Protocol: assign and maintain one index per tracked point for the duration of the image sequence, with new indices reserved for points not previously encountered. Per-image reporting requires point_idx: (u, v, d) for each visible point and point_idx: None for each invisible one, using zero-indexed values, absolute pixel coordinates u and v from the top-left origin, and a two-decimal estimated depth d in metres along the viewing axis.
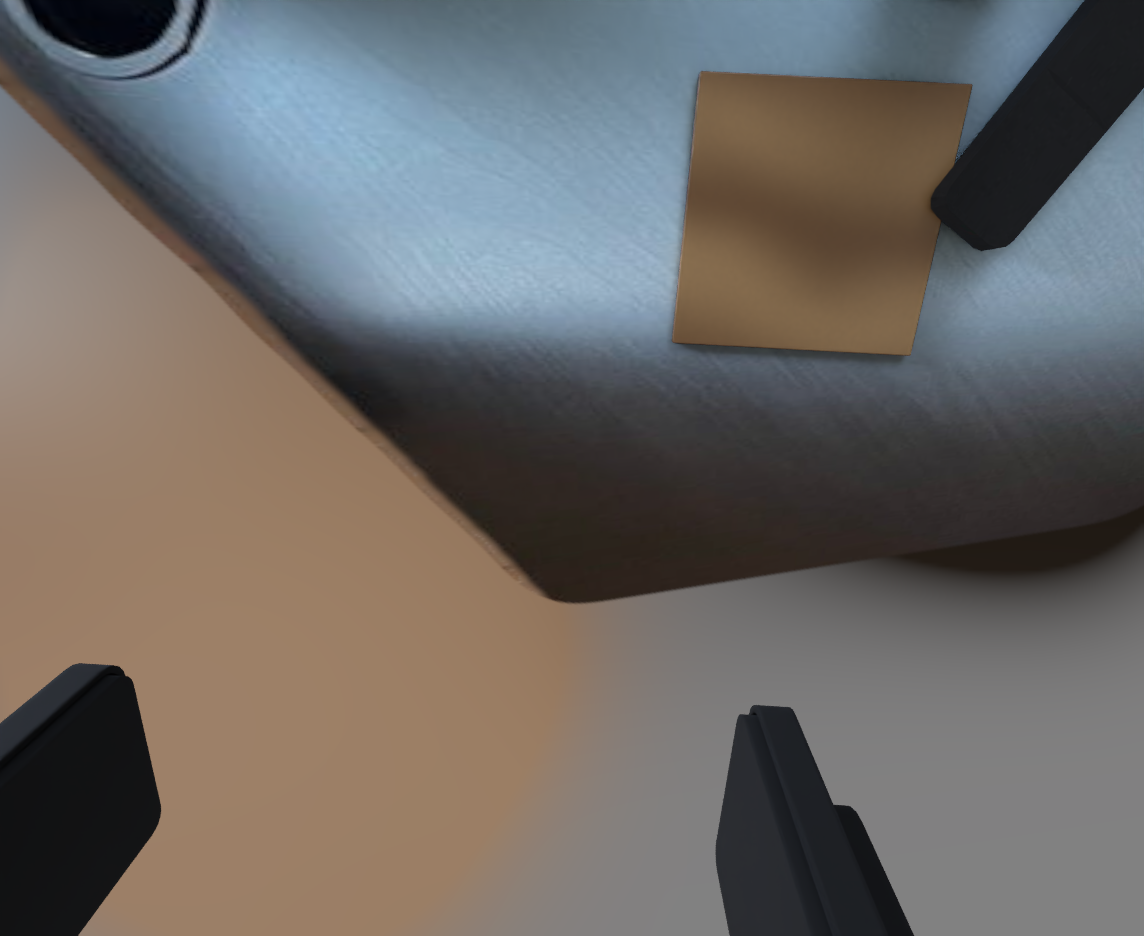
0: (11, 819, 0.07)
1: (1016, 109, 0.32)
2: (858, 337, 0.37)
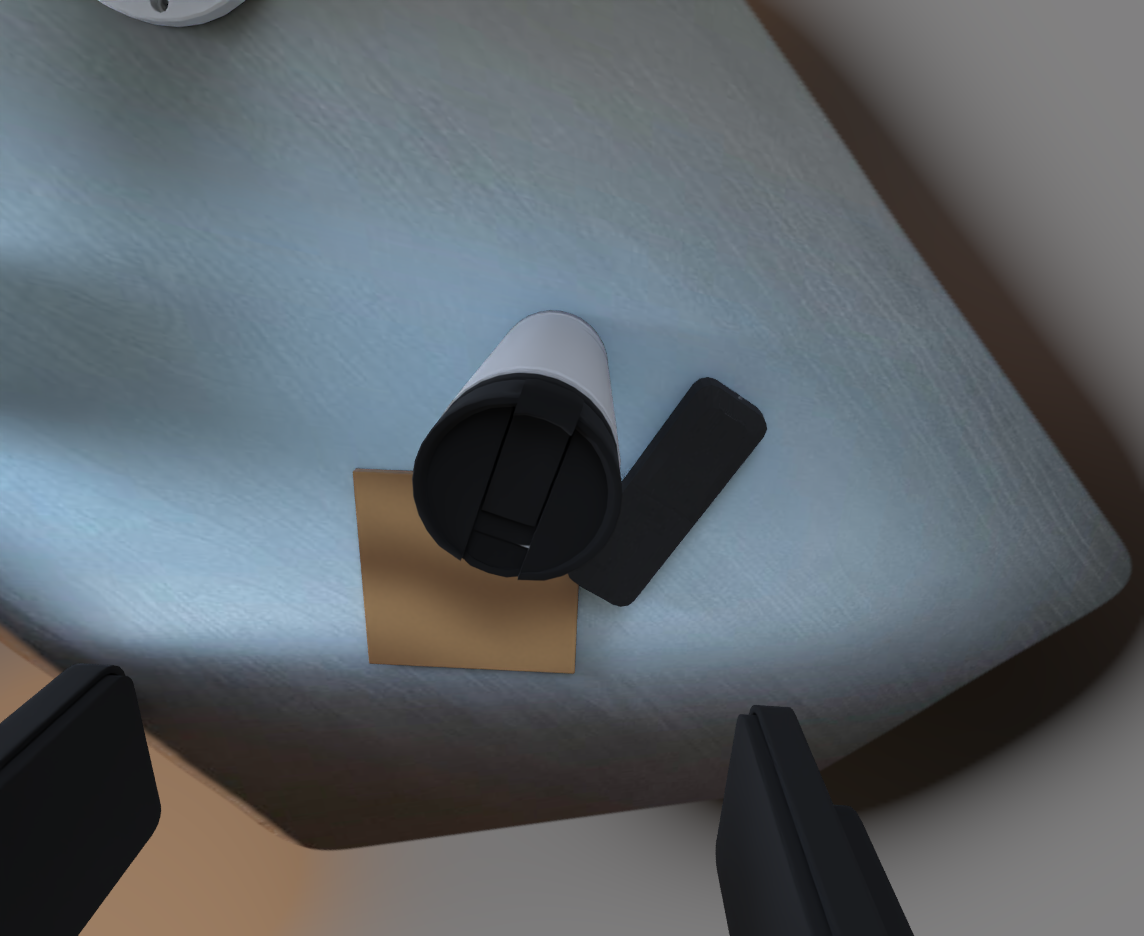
0: (11, 819, 0.07)
1: None
2: (526, 660, 0.43)
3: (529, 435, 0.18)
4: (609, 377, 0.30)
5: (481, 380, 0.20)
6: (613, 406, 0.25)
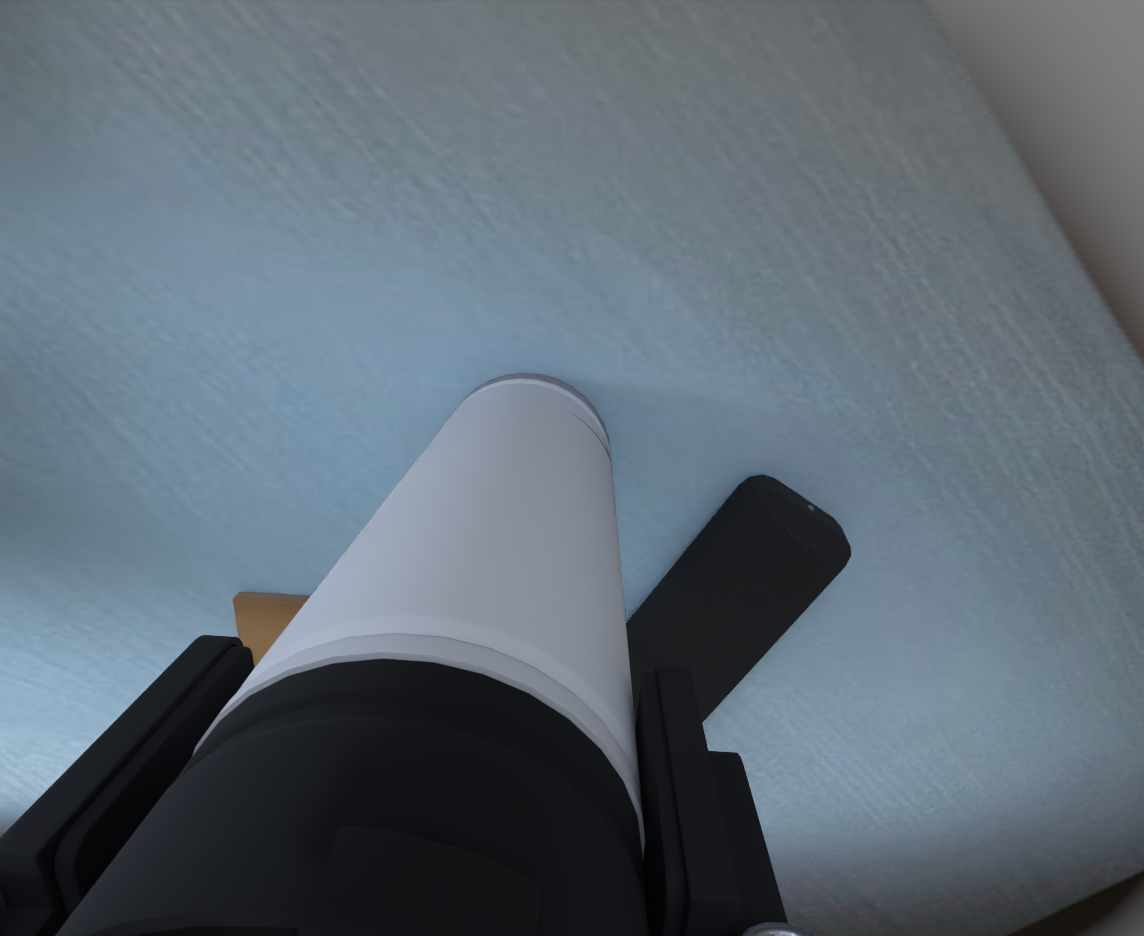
0: (170, 770, 0.08)
1: None
2: None
3: None
4: (614, 507, 0.18)
5: (288, 672, 0.08)
6: (623, 612, 0.13)
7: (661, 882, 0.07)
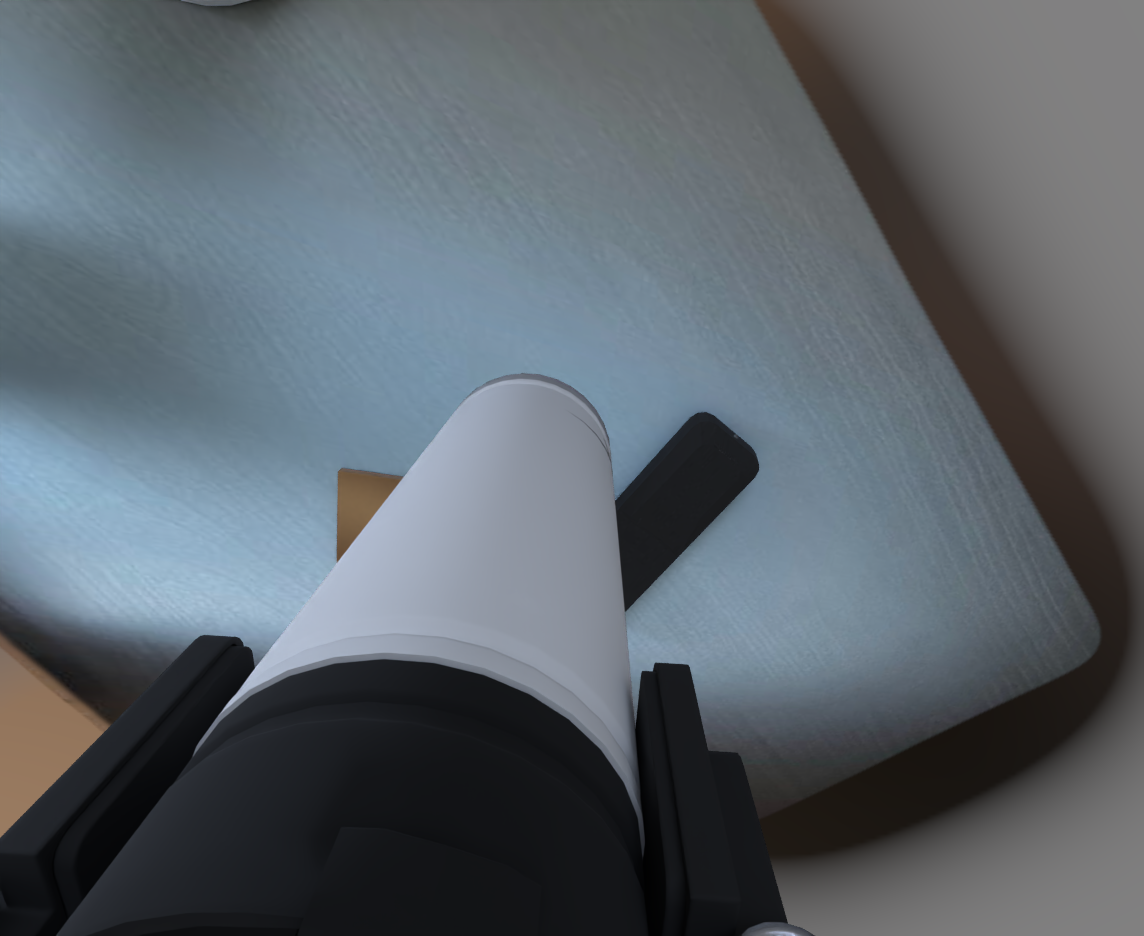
0: (170, 770, 0.08)
1: None
2: None
3: None
4: (614, 507, 0.18)
5: (289, 672, 0.08)
6: (624, 612, 0.13)
7: (661, 882, 0.07)
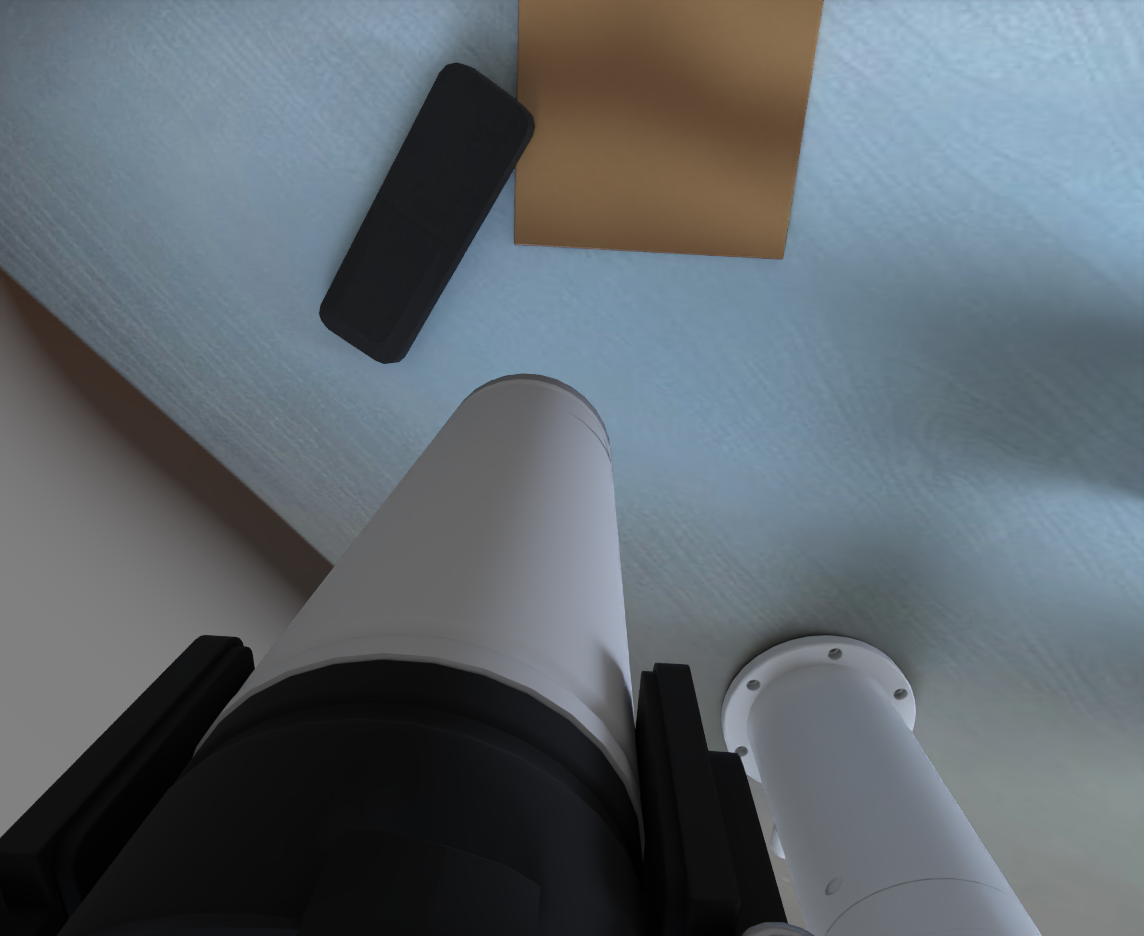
0: (170, 770, 0.08)
1: (475, 215, 0.32)
2: None
3: None
4: (614, 507, 0.18)
5: (288, 673, 0.08)
6: (624, 612, 0.13)
7: (661, 882, 0.07)
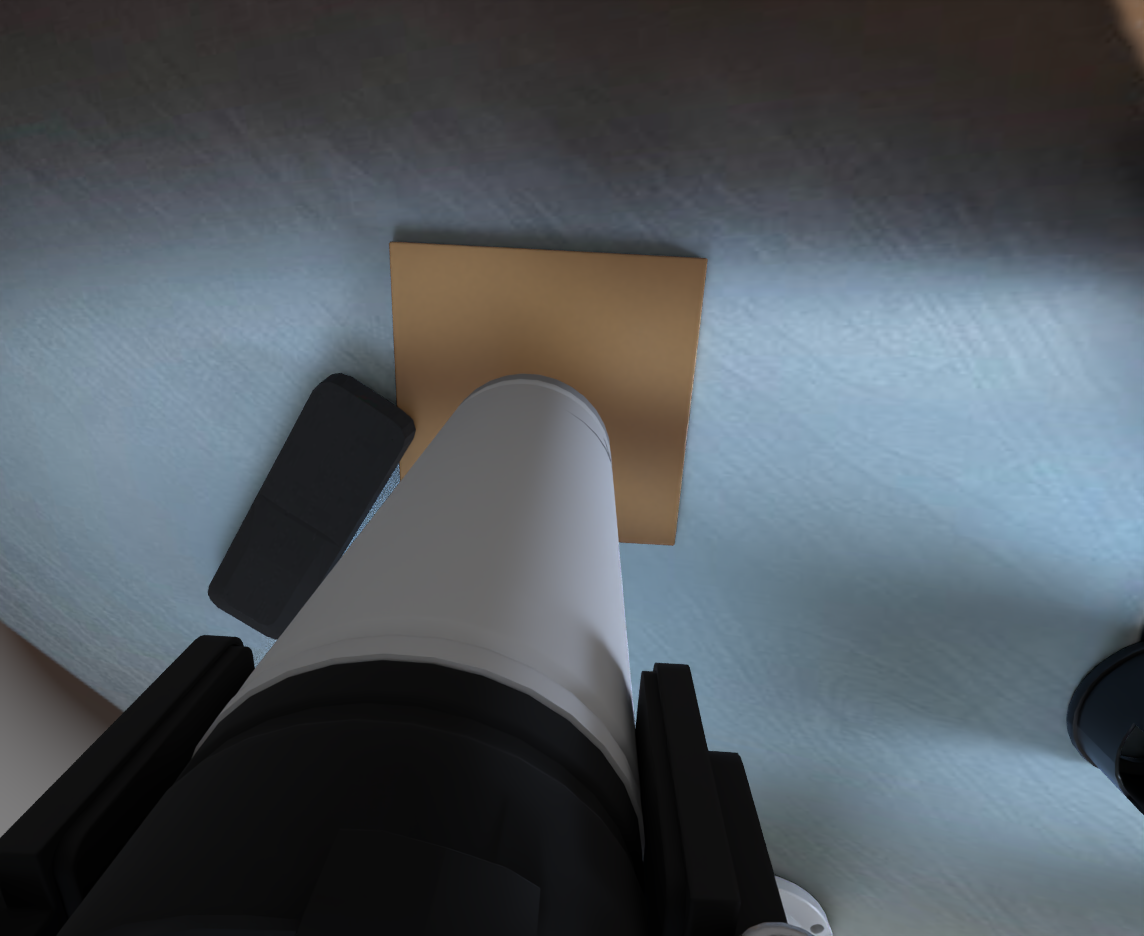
0: (170, 770, 0.08)
1: (357, 515, 0.31)
2: (462, 267, 0.28)
3: None
4: (614, 507, 0.18)
5: (288, 674, 0.08)
6: (624, 612, 0.13)
7: (661, 882, 0.07)
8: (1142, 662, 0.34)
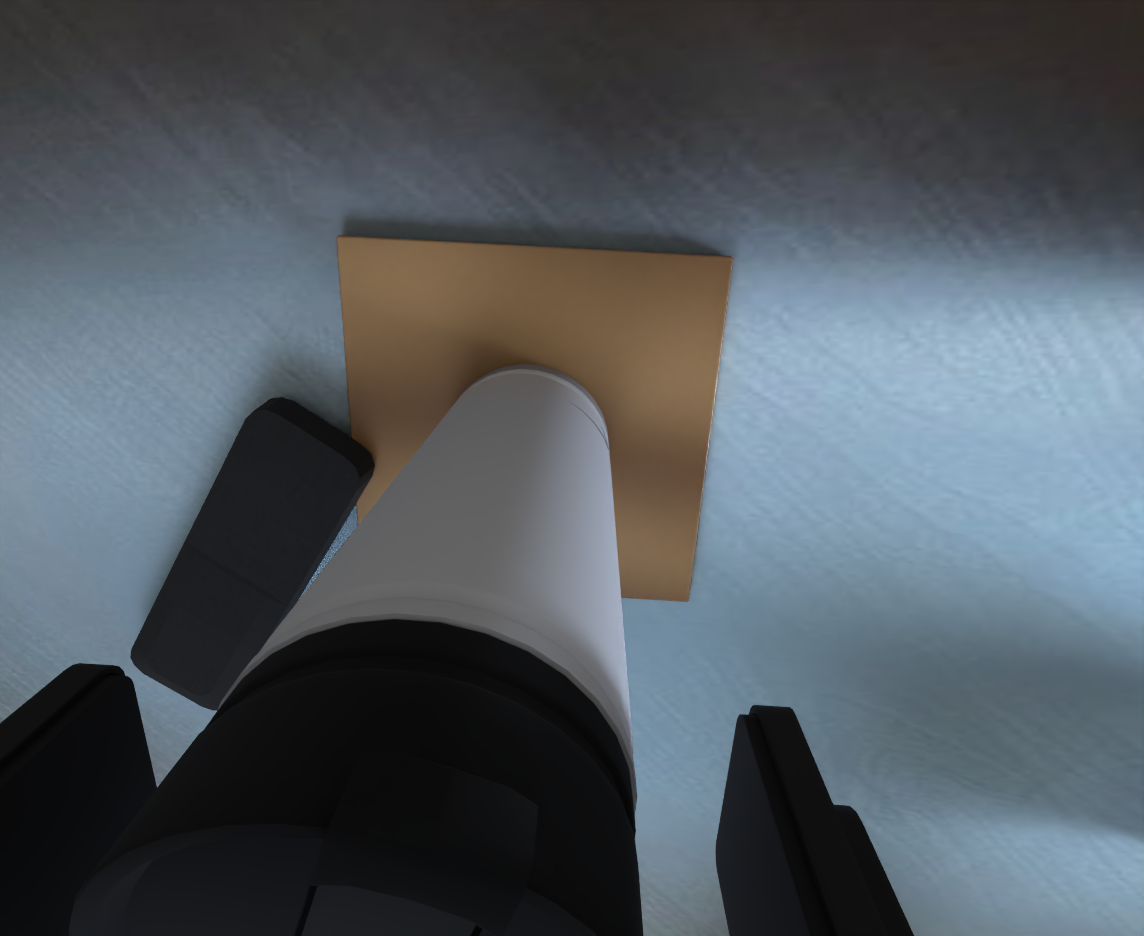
0: (11, 819, 0.07)
1: (304, 568, 0.26)
2: (428, 267, 0.23)
3: None
4: (611, 492, 0.18)
5: (306, 632, 0.08)
6: (619, 588, 0.13)
7: None
8: None
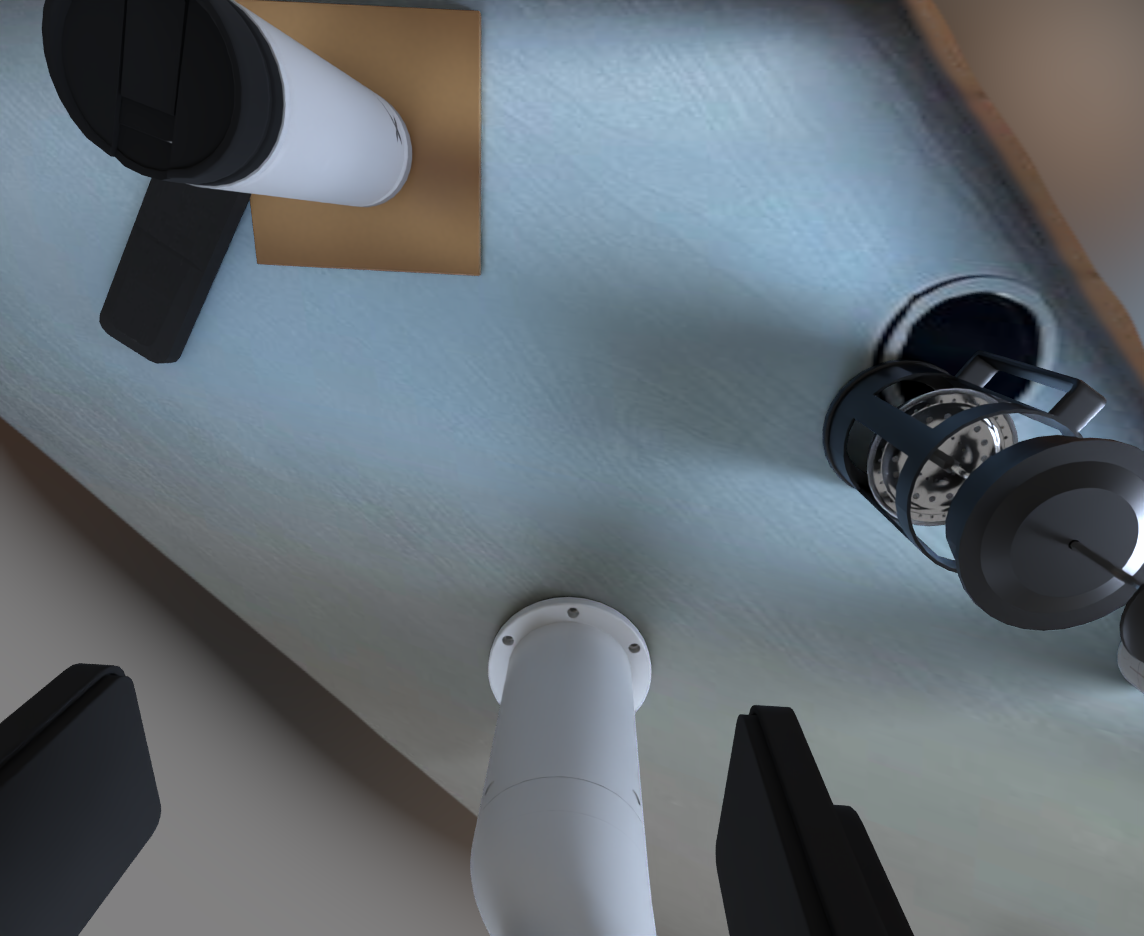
0: (11, 819, 0.07)
1: (214, 241, 0.39)
2: (286, 20, 0.36)
3: (148, 2, 0.19)
4: (372, 114, 0.31)
5: None
6: (332, 93, 0.26)
7: None
8: (869, 377, 0.41)
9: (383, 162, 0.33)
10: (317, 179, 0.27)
